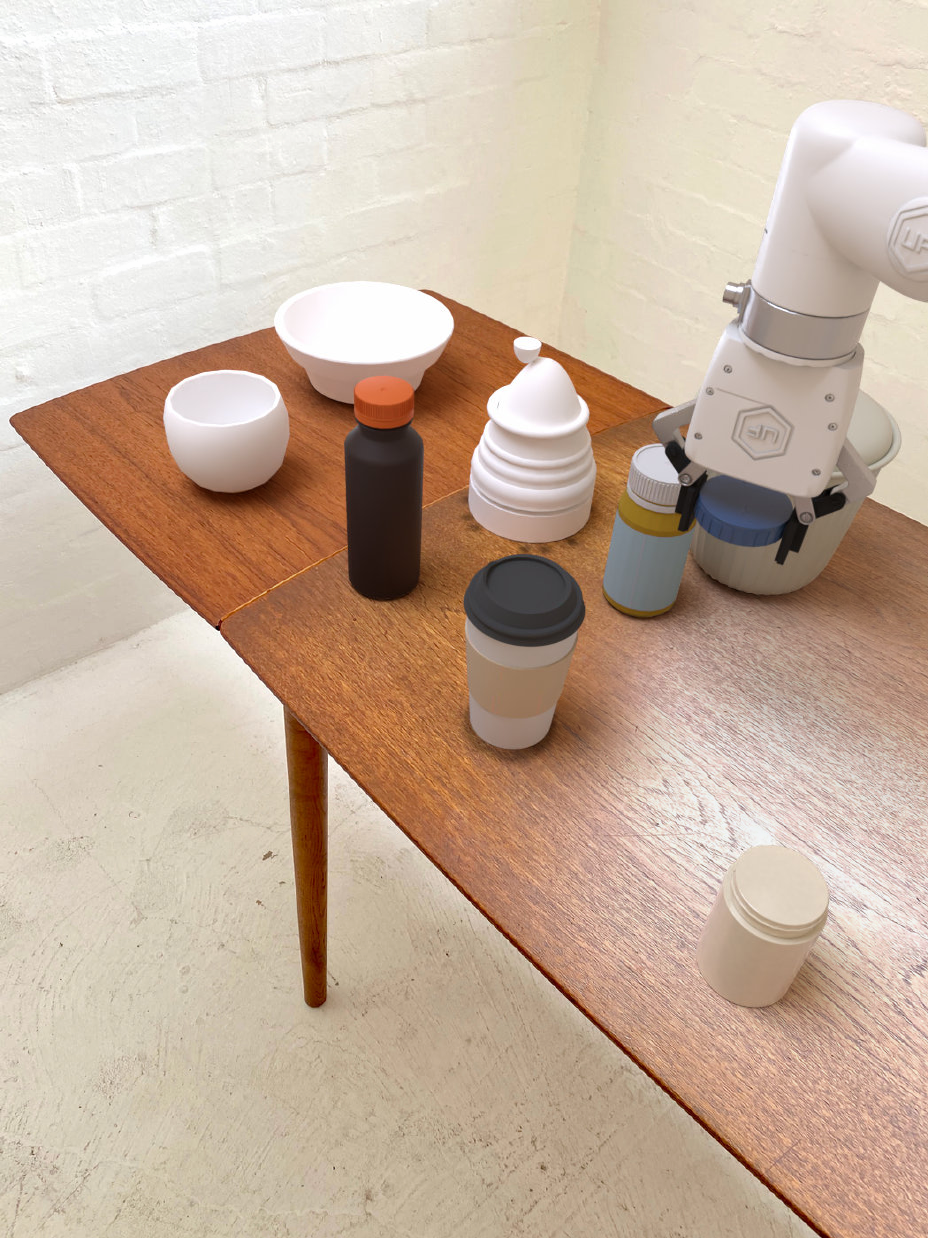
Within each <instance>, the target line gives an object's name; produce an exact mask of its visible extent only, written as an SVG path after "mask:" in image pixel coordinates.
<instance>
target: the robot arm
mask: <svg viewBox="0 0 928 1238" xmlns="http://www.w3.org/2000/svg"><path fill="white" fill-rule="evenodd" d="M927 145H928V141H927V134H926V130H925V127H924V126H923V124H922V123H921V122H920V120H919V119H917V118H916V117H915V116H913V115H911V114H909V112H906V111H904V110H902V109H899V108H897V107H893V106H890V105H887V104H883V103H878V102H873V101H866V100H859V99H858V100H857V99H831V100H825V101H820V102H816V103H814V104H812V105H810V106H808V107H807V108H806V109H804V110H803V111H802V112H801V113H800V114H799V115H798V116H797V118H796V120H795V121H794V123H793V125H792V127H791V129H790V133H789V135H788V139H787V141H786V146H785V150H784V153H783V157H782V161H781V164H780V167H779V168H780V169H779V172H778V176H777V179H776V183H775V188H774V191H773V195H772V198H771V201H770V202H771V203H770V207H769V210H768V214H767V218H766V221H765V225H764V229H763V233H762V237H761V241H760V246H759V249H758V252H757V257H756V261H755V264H754V268H753V272H752V276H751V279H750V278H748V280H747V281H746V282H742V281H741V282H739V283H736V282H733V281H728V282H727V284H726V286H725V289H724V291H723V295H722V303H725V304H729V305H732V307H733V308H736V309H737V310H736V311H737V312H736V313H737V314H739V315H738V316H736V317H734V318H733V319H732V320H731V321H730V322H729V323H728V324H726V326H725V328H724V330H723V332H722V335H720V338H719V340H718V342H717V344H716V347H715V349H714V351H713V354H712V356H711V359H710V361H709V364H708V366H707V370H706V373H705V375H704V378H703V382H702V384H701V386H702V387H701V386H700V388H701V390H700V393H699V396H698V398H695V397H694V398H695V399H694V398H693V399H690V400H688V401H686V402H684V403H681V404H679V405H676V406H674V407H671V408H668V409H667V410H664V411H662V412H659V414H657V416H656V417H655V418H654V420H653V421H652V423H651V428H652V430H653V432H654V434H655V435H656V438H657V439H658V441H659V444H662V445H663V446H664V448H665V454H666V456H667V458H668V459H669V461H670V462H671V464H672V465H673V467H674V468H675V470H676V471H677V473H678V474H679V475H678V481H679V483H680V484H681V488H680V492H679V496H678V500H677V504H676V508H675V513H678V514H681V518H680V522H679V526H678V530H679V531H682V532H685V531H688V529H689V528H690V526H691V524H692V522H693V521H694V519H695V511H694V507H695V503H696V499H697V497H698V495H699V491H700V489H701V487H702V486H703V484H704V483H705V482H706V481H707V478H708V474H706V472H707V469H708V470H711V471H714V472H717V473H720V474H723V475H726V476H730V477H733V478H736V479H739V480H742V481H745V482H748V483H752V484H755V485H758V486H761V487H765V488H768V489H771V490H774V491H778V492H781V493H784V494H788V495H792V496H793V499H794V503H795V507H794V509H793V511H792V514H791V516H790V518H789V520H788V523H787V526H786V528H785V531H784V534H783V537H782V540H781V543H780V546H779V548H778V551H777V554H776V557H775V560H774V561H777V562H776V563H777V564H780V565H783V564H784V562H785V560H786V557H787V555H788V553H789V550H790V551H793V552H796V553H799V550H800V548H801V546H802V543H803V540H804V538H805V535H806V532H807V530H808V527H809V525H810V524H812V523H813V522H814V521H815V519H817V518H820V517H822V516H825V515H828V514H830V513H833V512H836V511H838V510H841V509H842V508H843V507H844V506H845V505H847V504H849V503H853V502H856V501H858V500H860V499H862V498H864V497H866V498H867V497H868V496H871V495H873V493H874V491H875V488H876V485H877V478H875V476H874V475H873V473H872V472H871V471H870V469H869V468H868V466H867V465H866V463H865V462H864V461H863V459H862V458H861V456H860V455H859V454H858V452H857V451H856V449H855V448H854V447H853V445H852V444H851V442H850V441H849V440H848V438H847V437H846V435H847V432H848V429H849V426H850V422H851V419H852V415H853V412H854V408H855V404H856V400H857V396H858V392H859V389H860V387H861V382H862V381H861V380H862V377H863V369H864V365H865V363H864V362H865V355H866V354H865V349H864V346H863V345H862V344H861V343H860V342H859V341H860V338H861V336H862V333H863V330H864V328H865V325H866V323H867V320H868V317H869V313H870V311H871V308H872V304H873V302H874V299H875V296H876V293H877V290H878V288H879V285H880V282H881V283H882V284H883V285H885V286H887V287H888V288H890V289H891V290H894V291H895V292H897V293H899V294H900V295H902V296H904V297H907V298H908V299H911V300H914V301H918V302H922V303H926V304H928V146H927ZM686 425H689V426H688V429H687V433H686V437H685V436H683V435H682V433H681V430H680V428H682V427H684V426H686ZM699 436H700V437H699ZM835 466H837V467H838V468H839V470H840V471H841V473H842V474H843V475H844V477H845V478H846V480H847V481H846V482H844V483H843V484H838V485H835V486H832V487H830V488H827V489H825V487H826V485H827V484H828V482H829V480H830V478H831V476H832V473H833V471H834V469H835ZM824 489H825V490H824Z"/></svg>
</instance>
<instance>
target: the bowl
mask: <svg viewBox="0 0 928 1238" xmlns="http://www.w3.org/2000/svg"><path fill="white" fill-rule="evenodd" d="M273 325H274V329H275V332H276V334H277V336H278V337H279V339H280V340H281V343H282V344H283V346H284V347H285V349H286V351H287V352H288V355H289V356H290V357H291V359H292V360H293V361H294V362H295V363H296V364H297V365H299V366H300V367H301V368H304V369H305V372H306V374H307V377H308V379H309V382H310V384H311V386H313V388H314V389H315V390H316V391H317V392H319V393H320V394H321V395H323V396H325V397H327V398H329V399H332V400H334V401H337V402H341V403H345V404H351V405H354V387H355V386H356V385H357V384H358V383H359V382H360V381H362V380H364V379H366V378H369V377H374V376H392V377H397V378H400V379H403V380H405V381H406V382H408V383H409V384H410V385H411V386H412V387H413V389H414V392H415V391H416V390H417V389H418V388H419V386H420V385H421V383H422V379H423V377H424V375H425V373H426V370H428V368H430V367H432V366H433V365H434V364H435V363H436V362H437V361H438V360H439V358H440V357H441V355H442V354H443V352H444V350H445V348H446V346H447V345H448V342H449V341H450V339H451V338H452V335H453V333H454V329H455V321H454V317H453V315H452V313H451V311H450V310H449V308H448V307H447V306H445V304H443V303H442V302H441V301H439V300H438V299H437V298H434V297H433V296H431V295H429V294H427V293H424V292H423V291H421V290H418V289H414V288H410V287H408V286H402V285H399V284H392V283H387V282H378V281H346V282H343V281H342V282H336V283H329V284H324V285H320V286H316V287H315V286H314V287H312V288H309V289H307V290H304V291H302V292H299V293H297V294H295V295H293V296H292V297H290V298H288V299H287V300H286V301H284V302H283V303H282V304H281V305H280V307H279V308H278V309H277V310H276V313H275V315H274V320H273Z"/></svg>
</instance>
